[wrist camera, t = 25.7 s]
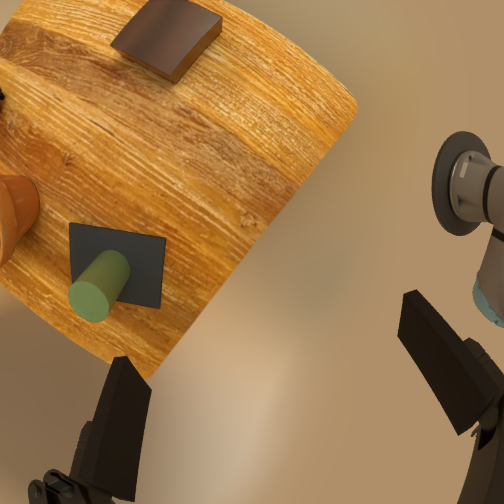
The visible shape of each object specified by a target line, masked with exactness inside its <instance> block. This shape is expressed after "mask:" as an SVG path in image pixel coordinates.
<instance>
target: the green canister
mask: <svg viewBox="0 0 504 504" xmlns="http://www.w3.org/2000/svg"><path fill="white" fill-rule="evenodd" d="M129 276H130V265H129V263H128V261H127V259H126V258H125V257H124V256H123V255H122V254H121V253H119V252H117V251H115V250H105V251H103V252H101V253H100V254H99V255H98V256H97V257H96V258H95V260H94V261H93V262H92V263H91V264H90V265H89V266H88V267H87V268H86V269H85V271H84V272H83V273H82V274H81V275H80V276H79V277H78V279H77V280H76V281H75V282H74V283H73V284H72V286H71V287H70V289H69V293H68V298H69V302H70V305H71V307H72V308H73V310H74V311H75V312H76V313H77V314H78V315H79V316H80V317H81V318H83V319H85V320H87V321H90V322H100V321H103V320H104V319H105V318H106V317H107V316H108V314H109V312H110V310H111V309H112V307H113V305H114V303H115V301H116V299H117V298H118V296H119V294H120V292H121V291H122V289H123V287H124V285H125V284H126V282H127V280H128V279H129Z"/></svg>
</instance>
